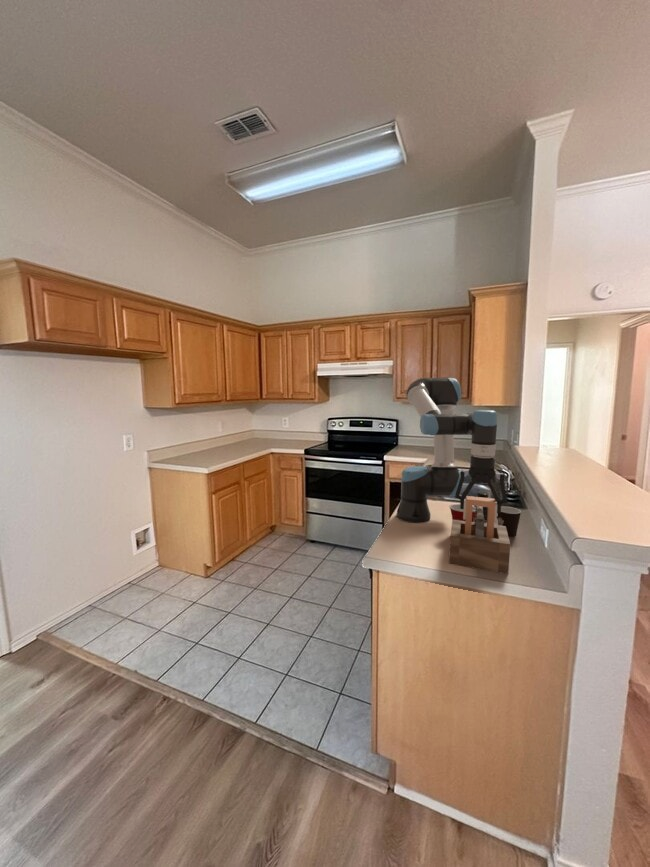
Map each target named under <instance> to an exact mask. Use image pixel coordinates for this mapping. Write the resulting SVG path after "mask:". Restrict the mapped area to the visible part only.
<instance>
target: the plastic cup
mask: <svg viewBox="0 0 650 867" xmlns="http://www.w3.org/2000/svg"><path fill="white" fill-rule="evenodd" d="M448 507H449V509H450V515H451V519H452V520H460V521H465V519H463V513H464V509H461V508H460V503H459V504H456V503H455V504H450V505H449V506H448ZM475 511H476V507H474V506H473V505H472V522H475Z"/></svg>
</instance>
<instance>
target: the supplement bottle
mask: <svg viewBox="0 0 650 867" xmlns="http://www.w3.org/2000/svg"><path fill="white" fill-rule="evenodd" d="M476 497H482V498H490V496H489V492H488V491H482V490H480V491H477V493H476ZM473 507H476V506H473ZM487 512H488V507H483V516H484V521H487Z"/></svg>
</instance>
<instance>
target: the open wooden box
mask: <svg viewBox="0 0 650 867" xmlns="http://www.w3.org/2000/svg"><path fill="white" fill-rule="evenodd" d="M450 528H451V529H450V534H449V537H450V538H449V556H448V559H449V560H448V564H449V565H454V566H461V567H466V568H472V569H476V568H477V569H478V570H484V571H489V572H493V573H494V572H495V573H500V572H502V573H501V574H506V573H508V574H509V571H510V570H509V569H510V554H511V553H510V552H511V541H510V537H508V533H507V529H506V526H500V525H498V524H494V535H493V538H487V536H486V530H487V523H485V520H484V516H483V507H482V506H476V511H475V517H474V522H472V524H471V535H466V534H465V521H460V520H452V522H451V527H450ZM477 569H476V570H477Z"/></svg>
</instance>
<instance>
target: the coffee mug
mask: <svg viewBox="0 0 650 867" xmlns="http://www.w3.org/2000/svg"><path fill="white" fill-rule="evenodd" d="M521 514H522V512H521V509H518V508H515V507H512V506H501V512H500V513H497V525H500V526H506V529H507V533H508V537H509V538H510V537H516V536H517V532H518V527H519V524H520V519H521Z"/></svg>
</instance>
